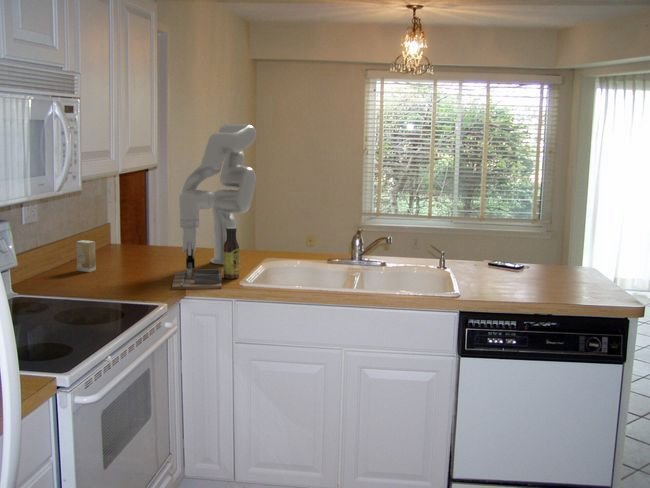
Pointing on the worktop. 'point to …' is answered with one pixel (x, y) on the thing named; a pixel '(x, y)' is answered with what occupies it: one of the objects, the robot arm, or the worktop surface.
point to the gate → (189, 270)
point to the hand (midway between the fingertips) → (190, 268)
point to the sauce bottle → (231, 255)
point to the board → (198, 279)
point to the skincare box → (86, 256)
